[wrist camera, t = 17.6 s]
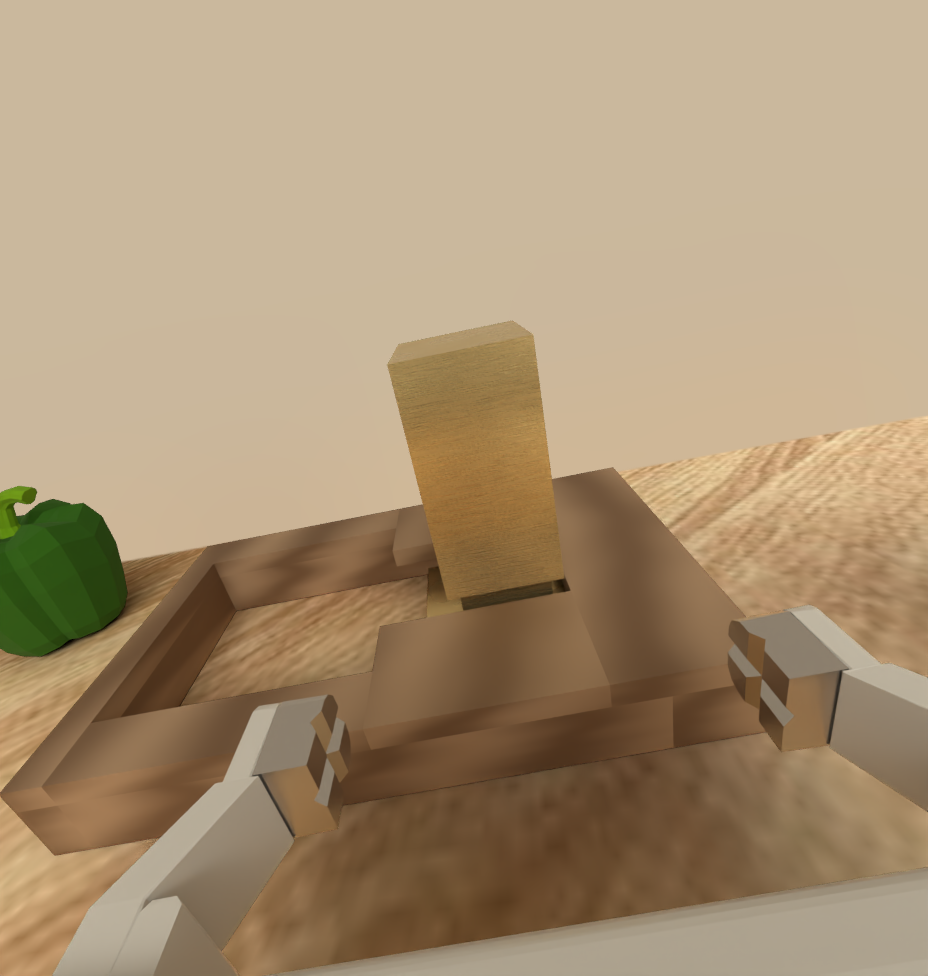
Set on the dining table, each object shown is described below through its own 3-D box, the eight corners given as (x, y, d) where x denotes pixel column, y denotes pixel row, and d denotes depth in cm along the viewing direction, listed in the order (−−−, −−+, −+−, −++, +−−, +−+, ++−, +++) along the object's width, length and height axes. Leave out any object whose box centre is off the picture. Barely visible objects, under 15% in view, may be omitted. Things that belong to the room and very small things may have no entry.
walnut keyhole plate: (54, 855, 18) (-2, 794, 16) (228, 590, 32) (207, 546, 31) (771, 730, 17) (779, 654, 15) (616, 516, 31) (612, 467, 30)
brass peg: (432, 701, 21) (335, 382, 15) (434, 589, 28) (369, 346, 22) (617, 667, 20) (590, 330, 15) (570, 563, 28) (540, 310, 22)
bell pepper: (-28, 662, 30) (-139, 525, 26) (105, 583, 37) (32, 463, 33) (34, 692, 26) (-85, 536, 22) (171, 597, 33) (97, 463, 29)
